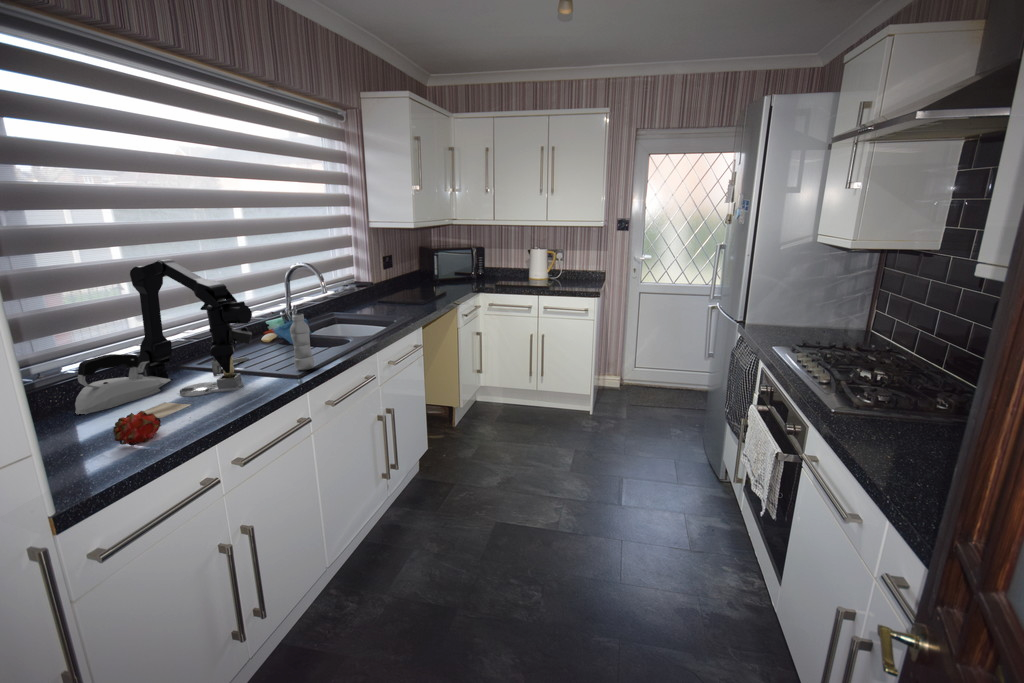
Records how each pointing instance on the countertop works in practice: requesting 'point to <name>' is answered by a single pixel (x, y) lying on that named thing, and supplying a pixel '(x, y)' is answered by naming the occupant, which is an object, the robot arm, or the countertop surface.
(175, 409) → the tan square plate
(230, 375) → the brass cylinder
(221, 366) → the robot arm
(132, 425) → the dragon fruit
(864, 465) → the countertop surface
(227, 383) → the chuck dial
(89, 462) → the countertop surface
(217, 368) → the caliper
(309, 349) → the plastic bottle
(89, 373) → the iron
